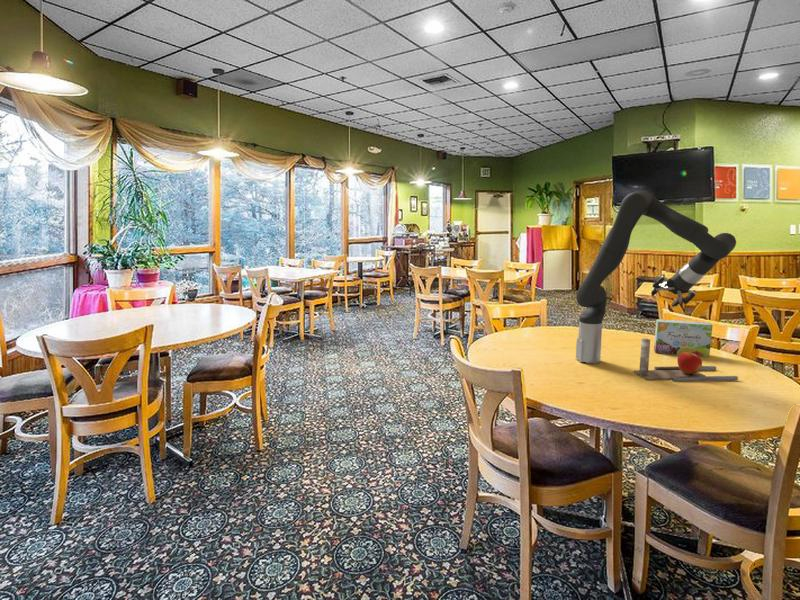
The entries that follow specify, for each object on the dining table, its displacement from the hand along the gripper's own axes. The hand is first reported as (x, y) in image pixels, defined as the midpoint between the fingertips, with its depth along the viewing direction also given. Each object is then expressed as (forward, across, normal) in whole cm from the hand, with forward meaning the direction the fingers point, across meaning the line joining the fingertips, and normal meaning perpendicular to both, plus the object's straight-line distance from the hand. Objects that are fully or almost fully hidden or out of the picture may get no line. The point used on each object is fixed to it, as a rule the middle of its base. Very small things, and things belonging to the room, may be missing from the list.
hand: (662, 299), depth 188 cm
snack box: (+30, -27, -8) cm, 41 cm away
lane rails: (+11, -24, +18) cm, 31 cm away
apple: (+11, -21, +19) cm, 30 cm away
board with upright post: (+13, -16, +22) cm, 30 cm away
